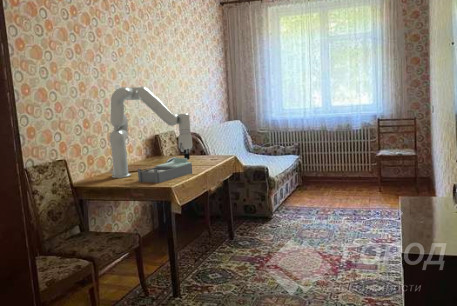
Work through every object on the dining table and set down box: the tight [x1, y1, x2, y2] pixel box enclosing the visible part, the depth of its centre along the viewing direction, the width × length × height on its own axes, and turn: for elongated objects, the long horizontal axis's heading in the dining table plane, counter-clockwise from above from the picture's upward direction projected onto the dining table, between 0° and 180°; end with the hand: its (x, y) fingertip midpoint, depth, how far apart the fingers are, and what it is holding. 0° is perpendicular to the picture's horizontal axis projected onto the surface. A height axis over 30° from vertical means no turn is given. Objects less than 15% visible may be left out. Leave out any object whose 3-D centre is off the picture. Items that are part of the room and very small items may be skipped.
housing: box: [137, 163, 193, 184], centre depth 273 cm, size 16×34×9 cm, turn 149°
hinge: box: [165, 156, 178, 163], centre depth 305 cm, size 17×5×10 cm, turn 152°
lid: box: [155, 157, 192, 168], centre depth 280 cm, size 16×16×3 cm
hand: (187, 159), depth 292 cm, fingers closed
